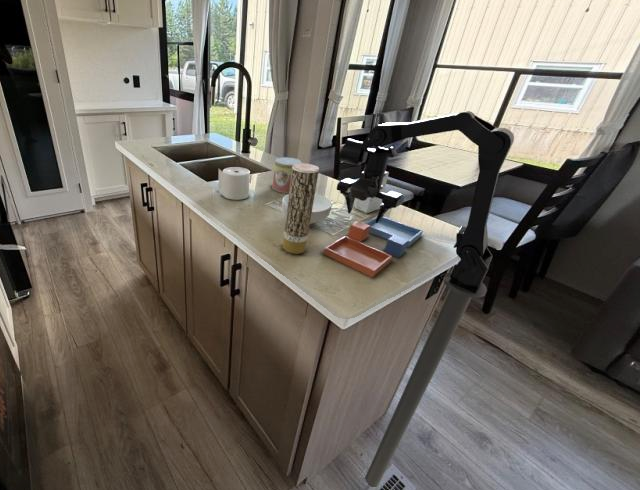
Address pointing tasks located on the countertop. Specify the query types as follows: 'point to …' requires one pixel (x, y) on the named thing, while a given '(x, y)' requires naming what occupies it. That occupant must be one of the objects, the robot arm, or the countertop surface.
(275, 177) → the canned food
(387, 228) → the blue tray
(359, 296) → the countertop surface
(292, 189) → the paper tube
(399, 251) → the blue block
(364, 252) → the clay tray
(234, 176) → the toilet tissue
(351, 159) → the robot arm
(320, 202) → the cereal bowl
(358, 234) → the clay block
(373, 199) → the cosmetic box
